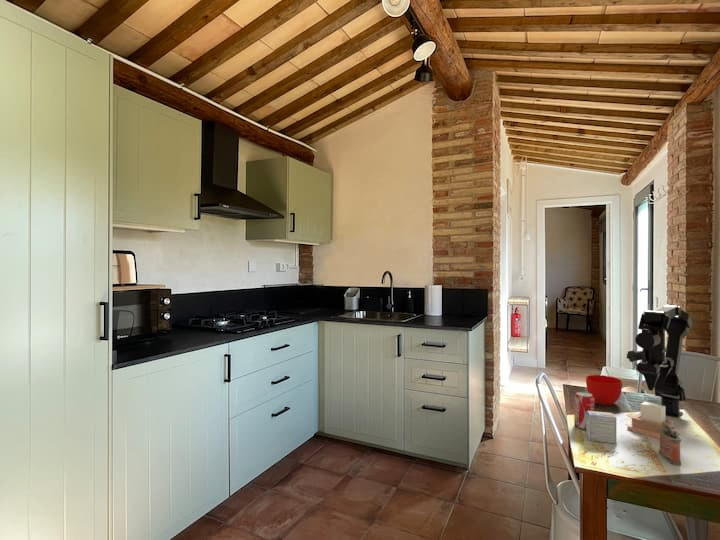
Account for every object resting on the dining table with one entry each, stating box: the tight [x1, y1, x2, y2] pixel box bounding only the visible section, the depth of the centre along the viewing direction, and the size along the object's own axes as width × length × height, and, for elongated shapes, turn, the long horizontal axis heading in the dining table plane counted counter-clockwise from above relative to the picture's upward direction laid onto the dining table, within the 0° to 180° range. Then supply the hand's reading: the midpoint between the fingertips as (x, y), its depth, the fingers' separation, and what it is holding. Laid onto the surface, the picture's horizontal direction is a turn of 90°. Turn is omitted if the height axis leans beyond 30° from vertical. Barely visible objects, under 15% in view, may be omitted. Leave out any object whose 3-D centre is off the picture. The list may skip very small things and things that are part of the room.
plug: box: [640, 401, 666, 424], centre depth 136 cm, size 4×6×8 cm, turn 36°
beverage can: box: [573, 391, 595, 431], centre depth 140 cm, size 6×6×12 cm
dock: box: [627, 412, 680, 440], centre depth 136 cm, size 10×12×4 cm
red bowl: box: [585, 374, 623, 406], centre depth 167 cm, size 13×17×10 cm
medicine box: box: [586, 410, 618, 444], centre depth 130 cm, size 8×4×9 cm, turn 71°
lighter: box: [658, 422, 682, 467], centre depth 117 cm, size 8×3×10 cm, turn 168°
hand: (655, 387), depth 143 cm, fingers open, 9 cm apart
